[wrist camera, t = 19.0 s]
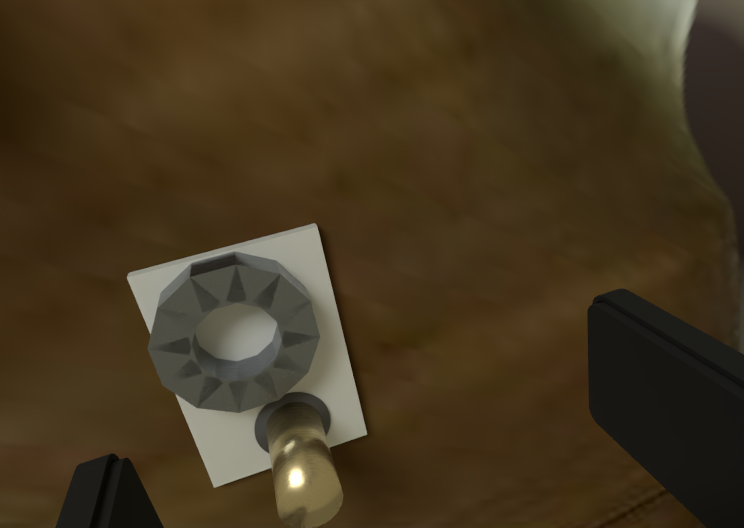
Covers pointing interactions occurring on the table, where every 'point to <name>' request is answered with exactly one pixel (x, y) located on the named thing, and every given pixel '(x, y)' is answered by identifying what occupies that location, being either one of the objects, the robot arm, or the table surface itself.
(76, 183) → the table surface
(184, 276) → the ring
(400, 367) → the table surface
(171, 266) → the base plate
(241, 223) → the table surface
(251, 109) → the table surface
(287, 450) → the brass round-ended cylinder
